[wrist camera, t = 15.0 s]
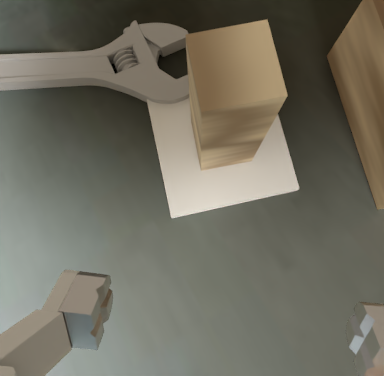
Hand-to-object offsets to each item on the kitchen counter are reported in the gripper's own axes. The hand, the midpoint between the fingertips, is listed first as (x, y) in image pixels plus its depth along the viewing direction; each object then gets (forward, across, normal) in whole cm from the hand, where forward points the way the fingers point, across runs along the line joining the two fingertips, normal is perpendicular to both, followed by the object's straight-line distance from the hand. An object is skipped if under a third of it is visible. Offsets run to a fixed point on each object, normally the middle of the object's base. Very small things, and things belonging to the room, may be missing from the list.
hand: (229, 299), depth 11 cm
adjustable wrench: (+19, +15, -2) cm, 24 cm away
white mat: (+15, +1, +2) cm, 15 cm away
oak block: (+14, 0, +1) cm, 15 cm away
